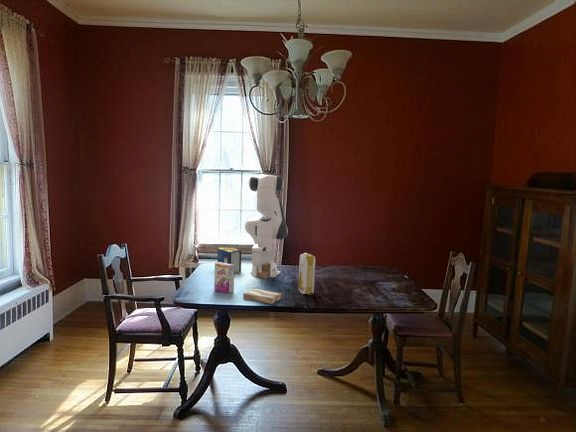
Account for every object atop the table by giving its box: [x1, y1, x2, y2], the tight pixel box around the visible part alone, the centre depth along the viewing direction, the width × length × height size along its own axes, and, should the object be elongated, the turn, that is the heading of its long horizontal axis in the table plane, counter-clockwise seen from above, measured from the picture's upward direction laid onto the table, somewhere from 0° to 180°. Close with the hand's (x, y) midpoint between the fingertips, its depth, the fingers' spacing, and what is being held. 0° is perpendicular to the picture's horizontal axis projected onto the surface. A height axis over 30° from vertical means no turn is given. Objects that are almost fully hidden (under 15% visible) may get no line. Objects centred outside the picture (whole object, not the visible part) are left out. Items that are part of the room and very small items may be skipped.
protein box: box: [217, 246, 242, 274], centre depth 300 cm, size 10×15×16 cm
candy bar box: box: [213, 261, 235, 294], centre depth 249 cm, size 11×5×16 cm, turn 59°
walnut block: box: [255, 262, 271, 279], centre depth 237 cm, size 5×6×8 cm
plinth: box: [242, 288, 283, 305], centre depth 239 cm, size 12×18×3 cm, turn 64°
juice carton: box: [297, 252, 316, 295], centre depth 252 cm, size 9×8×24 cm
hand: (263, 271), depth 237 cm, fingers closed on walnut block, 5 cm apart
